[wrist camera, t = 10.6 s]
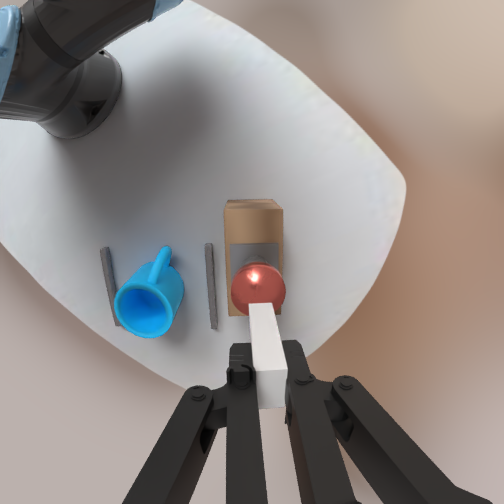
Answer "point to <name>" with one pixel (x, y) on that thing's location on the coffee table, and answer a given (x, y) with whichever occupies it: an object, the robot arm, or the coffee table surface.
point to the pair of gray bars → (112, 293)
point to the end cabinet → (252, 237)
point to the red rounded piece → (257, 285)
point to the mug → (150, 297)
